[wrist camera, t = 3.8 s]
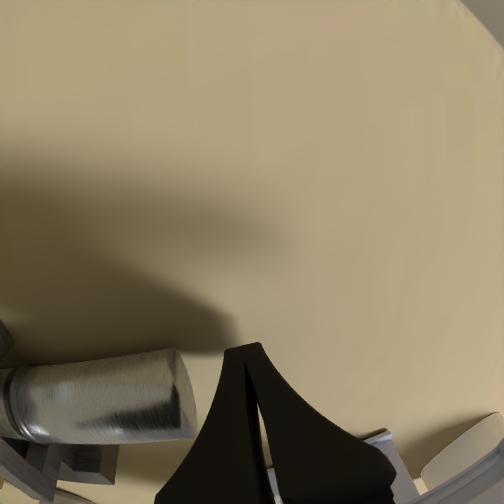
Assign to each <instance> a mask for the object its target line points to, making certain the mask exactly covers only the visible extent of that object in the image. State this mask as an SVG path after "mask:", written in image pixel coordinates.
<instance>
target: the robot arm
mask: <svg viewBox="0 0 504 504" xmlns="http://www.w3.org/2000/svg"><path fill="white" fill-rule="evenodd" d="M257 404H258V406H259V409H260V412H261V415H262V418H263V421H264V425H265V430H266V434H267V439H268V444H269V448H270V453H271V458H272V462H273V467H274V468H270V469H267V467H266V463H265V459H264V453H263V447H262V439H261V431H260V423H259V414H258V406H257ZM391 437H392V433H391V431H386V432H383V433H381V434H378V435H376V436H373V437H371V438H368V439H366V440H363V441H362V440H360V439H358V438H356V437H355V436H353V435H351V434H350V433H348V432H346V431H344V430H343V429H341V428H340V427H338V426H337V425H335V424H334V423H332V422H331V421H330V420H328V419H327V418H325V417H324V416H323V415H321V414H320V413H319V412H318V411H316V410H315V409H314V408H313V407H312V406H310V405H309V404H308V403H307V402H306V401H305V400H304V399H303V398H302V397H301V396H300V395H298V394H297V392H296V391H295V390H294V389H293V388H292V387H291V386H290V385H289V384H288V383H287V382H286V381H285V379H284V378H283V377H282V376H281V374H280V373H279V372H278V371H277V369H276V368H275V367H274V365H273V364H272V362H271V361H270V359H269V358H268V356H267V355H266V353H265V351H264V349H263V347H262V344H261V343H259V342H255V343H251V344H247V345H242V346H238V347H234V348H229V349H226V350H225V352H224V360H223V366H222V371H221V375H220V379H219V383H218V386H217V390H216V393H215V396H214V399H213V402H212V405H211V408H210V410H209V413H208V415H207V418H206V420H205V422H204V425H203V427H202V429H201V431H200V433H199V435H198V437H197V439H196V440H195V442H194V444H193V446H192V448H191V449H190V451H189V453H188V454H187V456H186V457H185V459H184V460H183V462H182V463H181V464H180V466H179V467H178V469H177V470H176V472H175V473H174V474H173V476H172V477H171V478H170V479H169V480H168V482H167V483H166V484H165V485H164V486H163V487H162V489H161V490H160V491H159V492H158V493H157V494H156V496H155V501H154V504H276V503H275V499H274V496H273V493H274V495H275V497H276V499H277V501H278V502H281V504H504V437H503V438H502V440H501V441H500V442H499V443H498V445H497V447H496V448H494V449H493V450H492V451H490V452H489V453H488V454H486V455H485V456H483V457H482V458H481V459H479V460H478V461H476V462H475V463H474V464H472V465H471V466H469V467H468V468H466V469H465V470H463V471H462V472H460V473H458V474H457V475H455V476H454V477H452V478H450V479H449V480H447V481H445V482H444V483H442V484H440V485H439V486H437V487H435V488H433V489H432V490H430V491H428V492H426V493H424V494H422V495H420V494H419V492H418V490H417V488H416V486H415V484H414V482H413V480H412V478H411V476H410V474H409V472H408V471H407V469H406V467H405V465H404V463H403V461H402V459H401V457H400V455H399V454H398V452H397V450H396V448H395V446H394V444H393V442H392V440H391ZM272 491H273V492H272Z"/></svg>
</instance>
